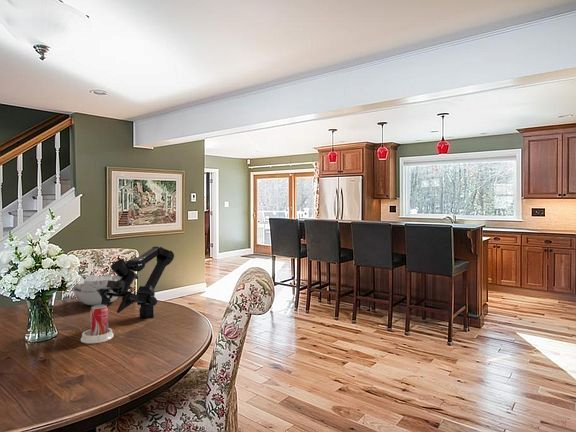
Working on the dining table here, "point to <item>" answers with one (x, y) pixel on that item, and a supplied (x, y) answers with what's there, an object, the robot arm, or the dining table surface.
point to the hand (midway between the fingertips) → (109, 311)
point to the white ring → (96, 337)
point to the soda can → (99, 320)
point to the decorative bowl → (93, 289)
